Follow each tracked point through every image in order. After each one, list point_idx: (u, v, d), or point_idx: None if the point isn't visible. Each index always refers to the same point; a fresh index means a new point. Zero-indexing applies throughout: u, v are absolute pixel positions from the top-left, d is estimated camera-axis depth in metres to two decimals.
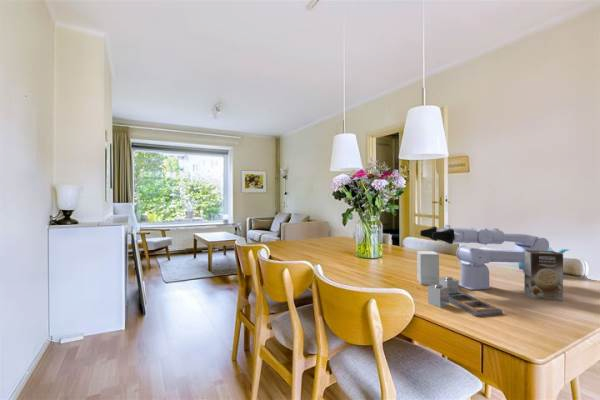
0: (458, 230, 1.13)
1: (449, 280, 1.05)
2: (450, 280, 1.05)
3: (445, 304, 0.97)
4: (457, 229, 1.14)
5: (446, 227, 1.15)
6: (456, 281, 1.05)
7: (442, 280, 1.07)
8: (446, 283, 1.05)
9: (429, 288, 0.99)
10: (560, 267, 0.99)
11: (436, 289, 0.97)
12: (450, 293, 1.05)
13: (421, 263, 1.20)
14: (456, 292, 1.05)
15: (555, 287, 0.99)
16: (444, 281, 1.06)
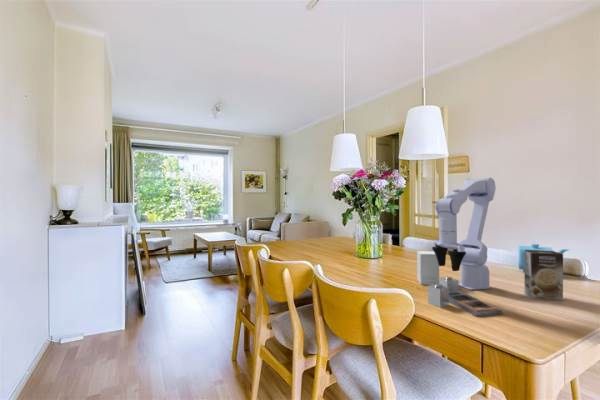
0: (446, 235, 1.05)
1: (449, 280, 1.05)
2: (450, 280, 1.05)
3: (445, 304, 0.97)
4: (444, 235, 1.05)
5: None
6: (456, 281, 1.05)
7: (442, 280, 1.07)
8: (446, 283, 1.05)
9: (429, 288, 0.99)
10: (560, 267, 0.99)
11: (436, 289, 0.97)
12: (450, 293, 1.05)
13: (421, 263, 1.20)
14: (455, 292, 1.05)
15: (555, 287, 0.99)
16: (444, 281, 1.06)
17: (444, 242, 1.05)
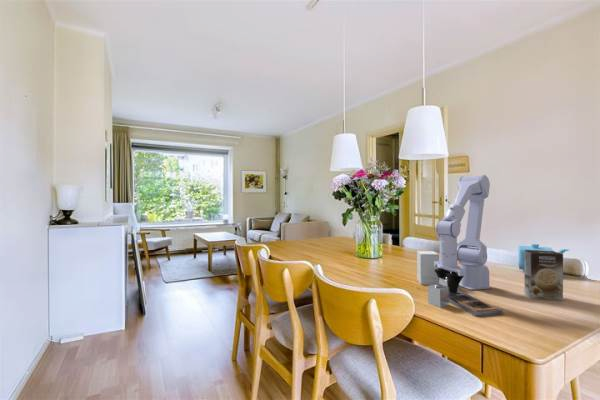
0: (446, 258, 1.05)
1: None
2: None
3: (445, 304, 0.97)
4: (444, 258, 1.05)
5: (440, 267, 1.07)
6: None
7: (442, 280, 1.07)
8: (446, 282, 1.05)
9: (429, 288, 0.99)
10: (560, 267, 0.99)
11: (436, 289, 0.97)
12: (450, 293, 1.05)
13: (421, 263, 1.20)
14: None
15: (555, 287, 0.99)
16: (444, 281, 1.06)
17: (444, 265, 1.05)
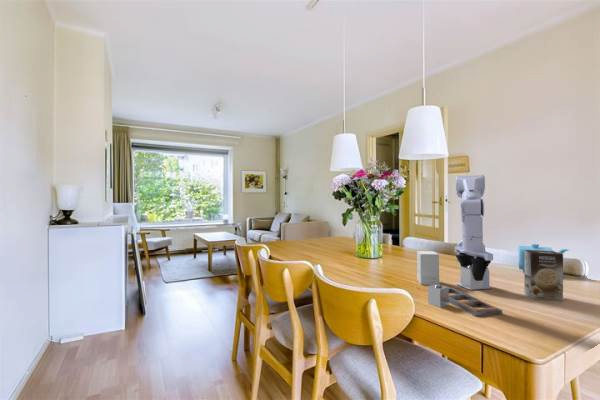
0: (470, 241, 0.93)
1: (472, 268, 0.93)
2: (473, 268, 0.93)
3: (445, 304, 0.97)
4: (468, 241, 0.93)
5: (464, 252, 0.95)
6: None
7: (464, 269, 0.95)
8: (469, 271, 0.93)
9: (429, 288, 0.99)
10: (560, 267, 0.99)
11: (436, 289, 0.97)
12: (473, 283, 0.93)
13: (421, 263, 1.20)
14: (480, 282, 0.93)
15: (555, 287, 0.99)
16: (467, 270, 0.94)
17: (468, 249, 0.93)
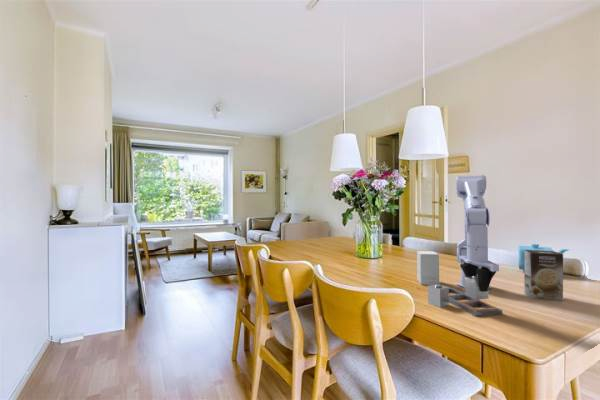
0: (475, 251, 0.91)
1: (477, 279, 0.91)
2: (478, 279, 0.91)
3: (445, 304, 0.97)
4: (473, 251, 0.92)
5: (468, 262, 0.93)
6: None
7: (469, 279, 0.93)
8: (474, 282, 0.91)
9: (429, 288, 0.99)
10: (560, 267, 0.99)
11: (436, 289, 0.97)
12: (478, 294, 0.91)
13: (421, 263, 1.20)
14: (485, 292, 0.91)
15: (555, 287, 0.99)
16: (471, 280, 0.92)
17: (473, 259, 0.92)
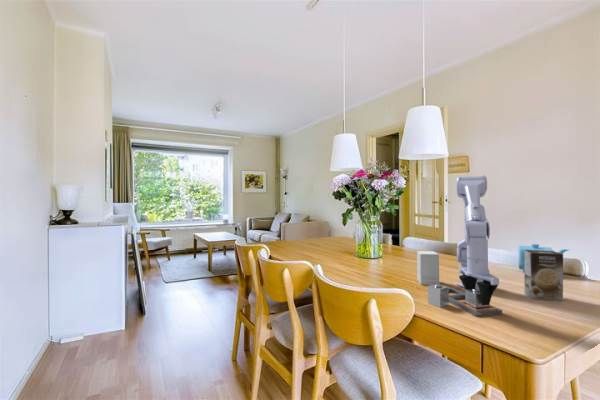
0: (475, 264, 0.91)
1: (478, 293, 0.92)
2: (479, 293, 0.92)
3: (445, 304, 0.97)
4: (473, 264, 0.92)
5: None
6: None
7: (469, 292, 0.93)
8: (474, 296, 0.91)
9: (429, 288, 0.99)
10: (560, 267, 0.99)
11: (436, 289, 0.97)
12: (479, 308, 0.91)
13: (421, 263, 1.20)
14: (485, 306, 0.91)
15: (555, 287, 0.99)
16: (472, 294, 0.92)
17: (473, 272, 0.92)
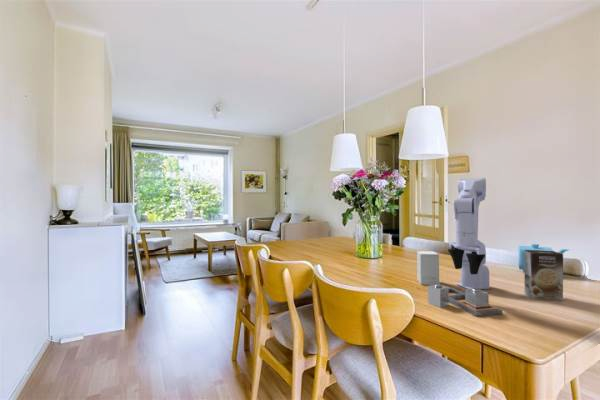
0: (463, 237, 1.00)
1: (478, 293, 0.92)
2: (479, 293, 0.92)
3: (445, 304, 0.97)
4: (461, 237, 1.01)
5: (457, 247, 1.02)
6: (486, 294, 0.91)
7: (469, 292, 0.93)
8: (474, 296, 0.91)
9: (429, 288, 0.99)
10: (560, 267, 0.99)
11: (436, 289, 0.97)
12: (479, 308, 0.91)
13: (421, 263, 1.20)
14: (485, 306, 0.91)
15: (555, 287, 0.99)
16: (472, 294, 0.92)
17: (462, 244, 1.01)
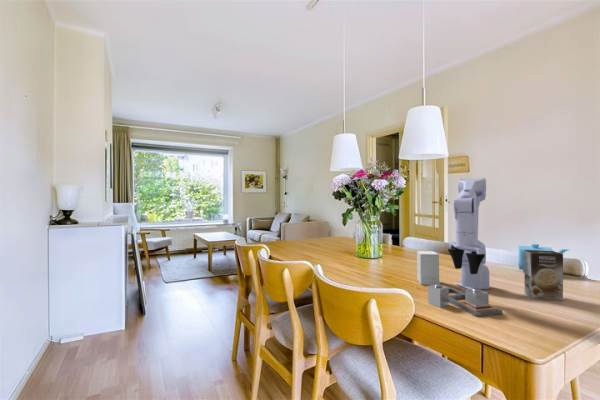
0: (463, 237, 1.00)
1: (478, 293, 0.92)
2: (479, 293, 0.92)
3: (445, 304, 0.97)
4: (461, 237, 1.01)
5: None
6: (486, 294, 0.91)
7: (469, 292, 0.93)
8: (474, 296, 0.91)
9: (429, 288, 0.99)
10: (560, 267, 0.99)
11: (436, 289, 0.97)
12: (479, 308, 0.91)
13: (421, 263, 1.20)
14: (485, 306, 0.91)
15: (555, 287, 0.99)
16: (472, 294, 0.92)
17: (461, 244, 1.01)
